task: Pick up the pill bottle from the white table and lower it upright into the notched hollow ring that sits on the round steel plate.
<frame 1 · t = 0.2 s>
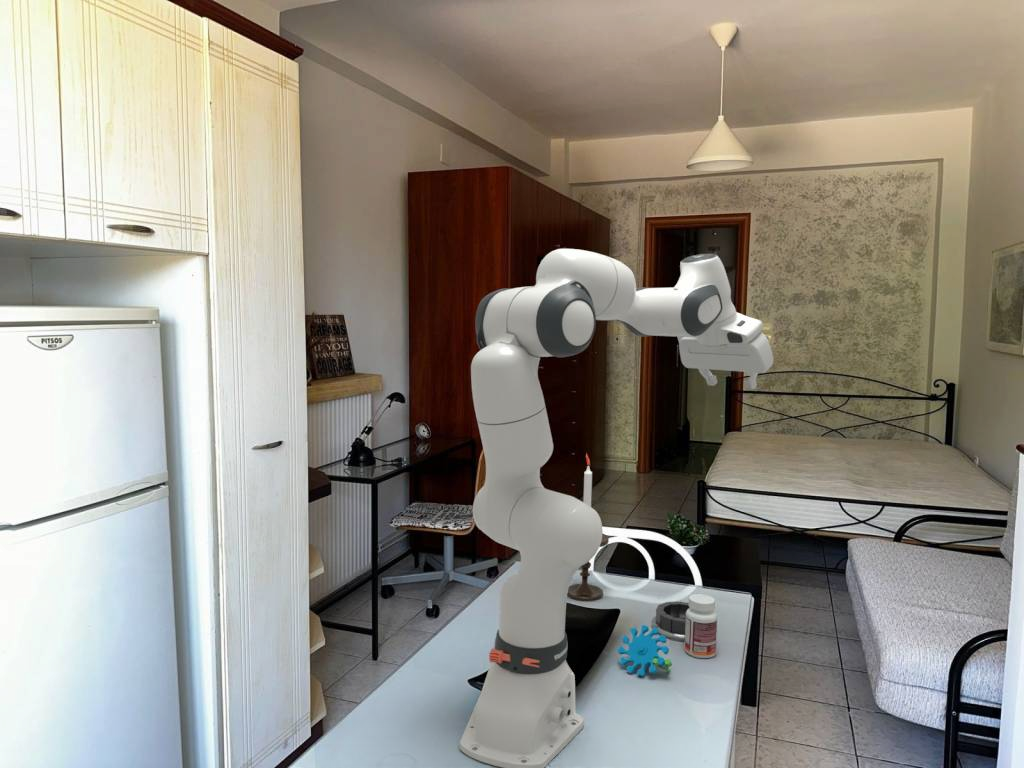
hand: (732, 385, 153), 54 cm above the table, tool tilted 30°, fingers open, 8 cm apart
notched hollow ring: (681, 629, 157), on the table
gear: (644, 671, 138), on the table
pill bottle: (699, 653, 146), on the table
candlestick: (584, 595, 177), on the table
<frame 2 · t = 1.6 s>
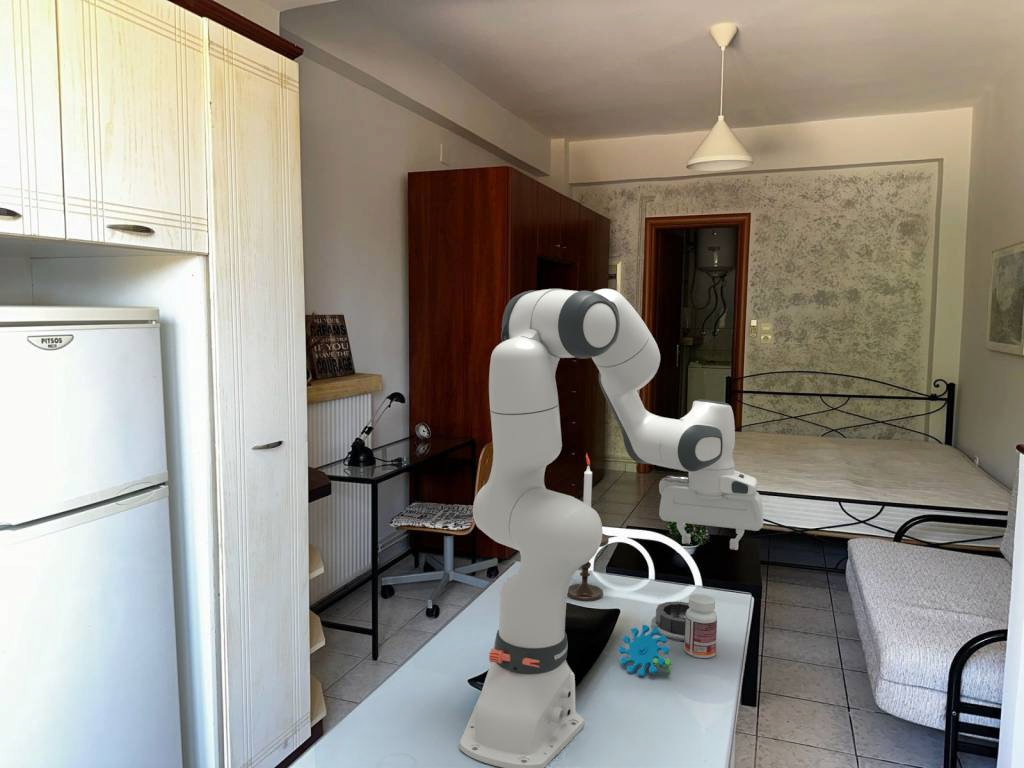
hand: (709, 545, 146), 22 cm above the table, tool pointing down, fingers open, 8 cm apart
nothing on the table moved.
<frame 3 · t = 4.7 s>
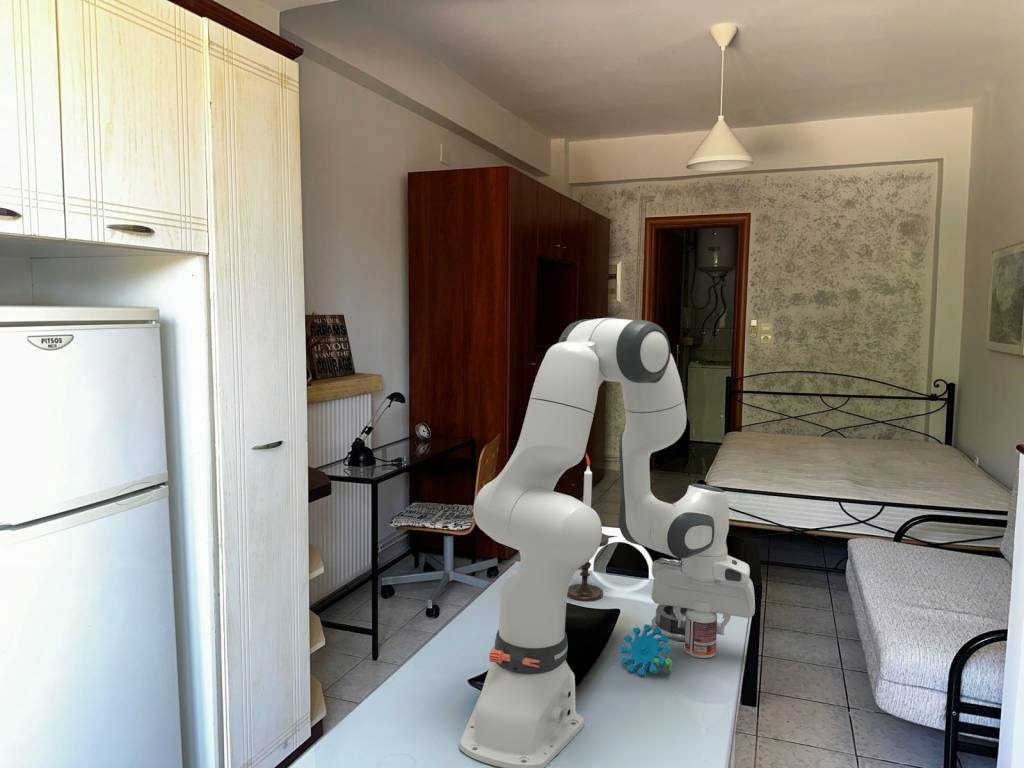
hand: (700, 630, 146), 5 cm above the table, tool pointing down, fingers closed on pill bottle, 6 cm apart
pill bottle: (699, 653, 146), on the table, touching gripper
everything else where it was.
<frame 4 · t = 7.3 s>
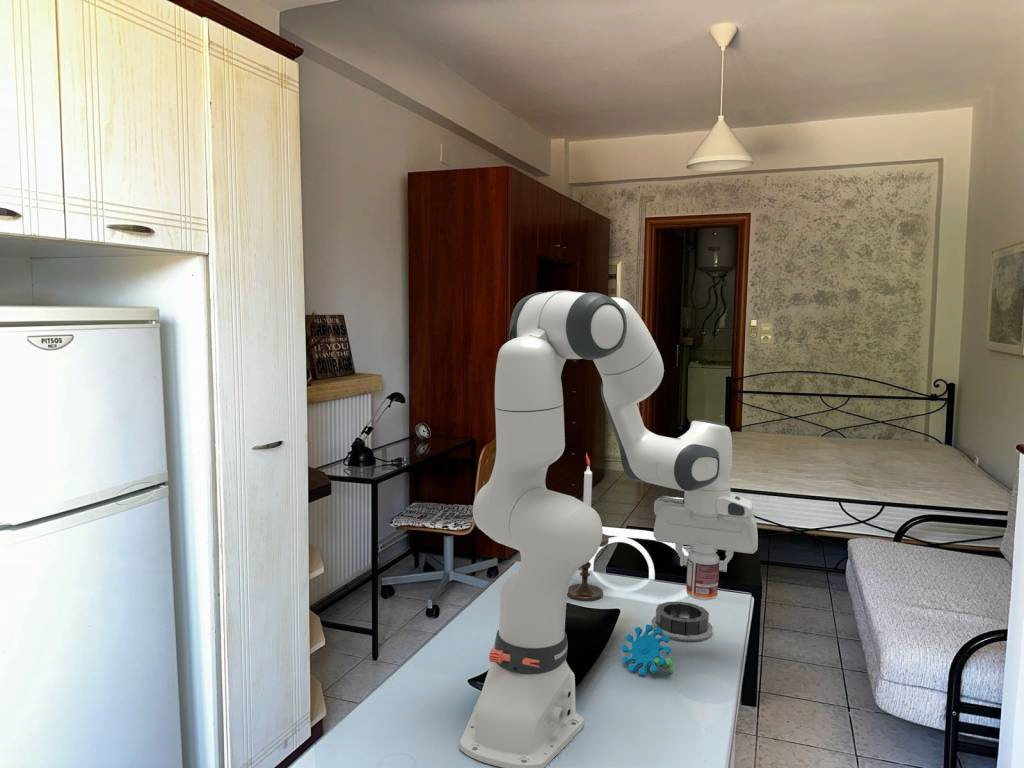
hand: (703, 568, 145), 18 cm above the table, tool pointing down, fingers closed on pill bottle, 6 cm apart
pill bottle: (701, 596, 145), point 12 cm above the table, touching gripper
everything else where it was.
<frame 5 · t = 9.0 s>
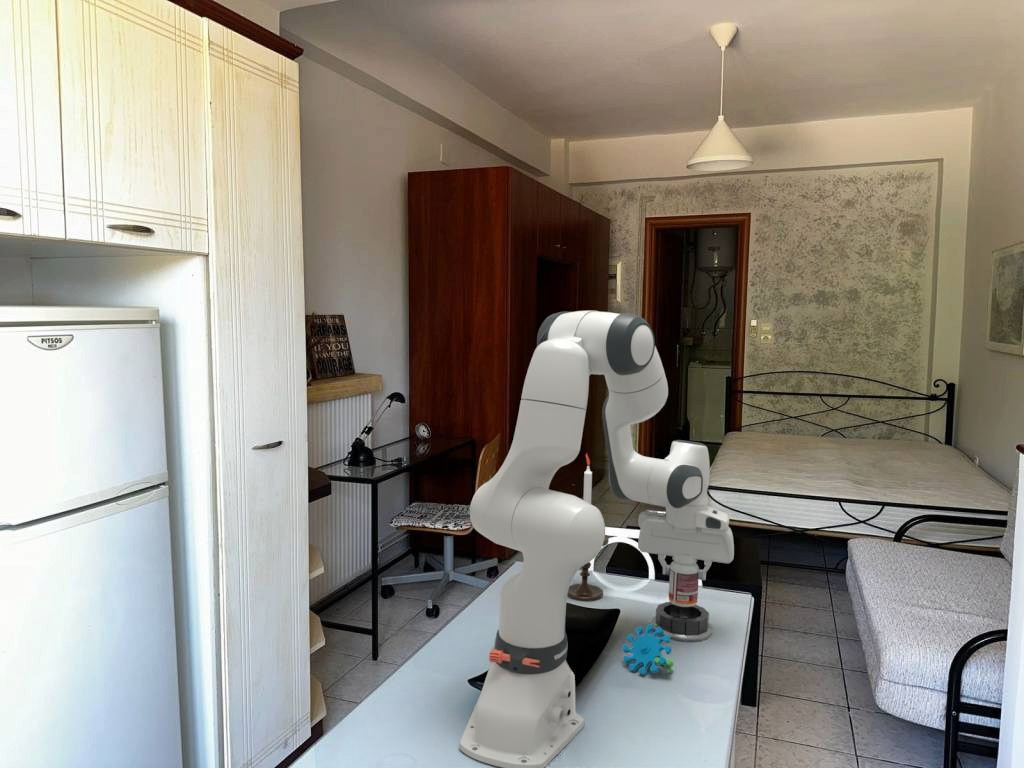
hand: (684, 576, 156), 12 cm above the table, tool pointing down, fingers closed on pill bottle, 6 cm apart
pill bottle: (682, 603, 157), point 6 cm above the table, touching gripper
everything else where it was.
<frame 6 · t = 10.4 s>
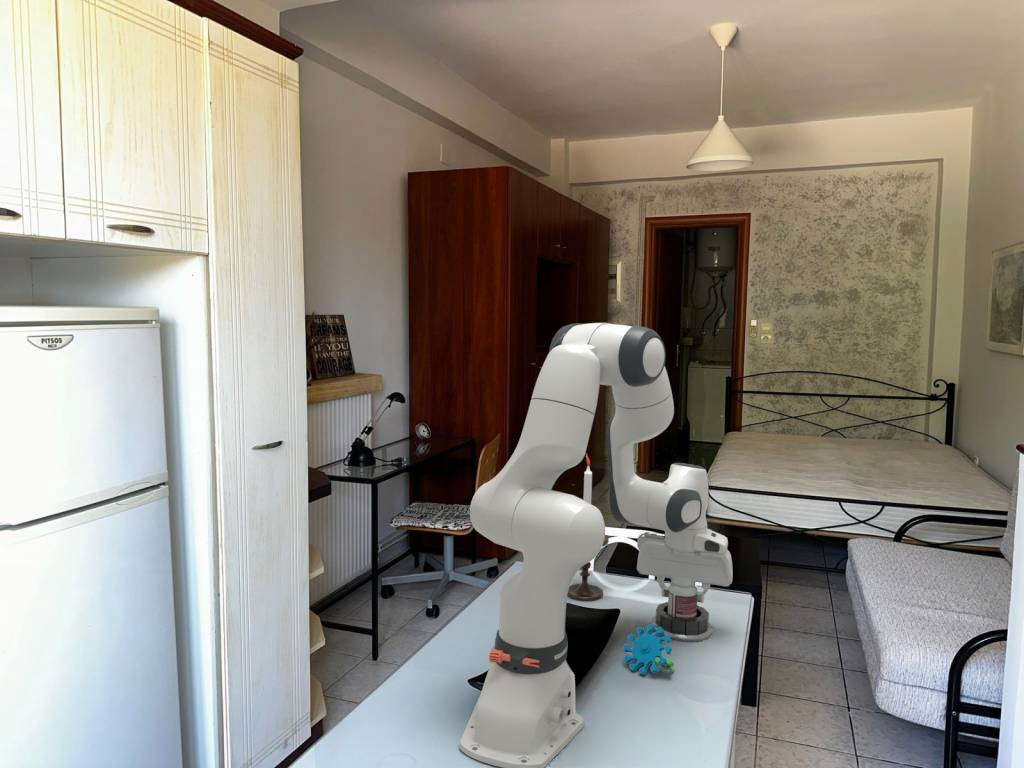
hand: (682, 598, 157), 7 cm above the table, tool pointing down, fingers closed on pill bottle, 6 cm apart
pill bottle: (681, 625, 157), point 1 cm above the table, touching gripper, notched hollow ring
everything else where it was.
when the fingers open (7 cm above the table, at t = 10.7 s): pill bottle stays where it is, resting on notched hollow ring.
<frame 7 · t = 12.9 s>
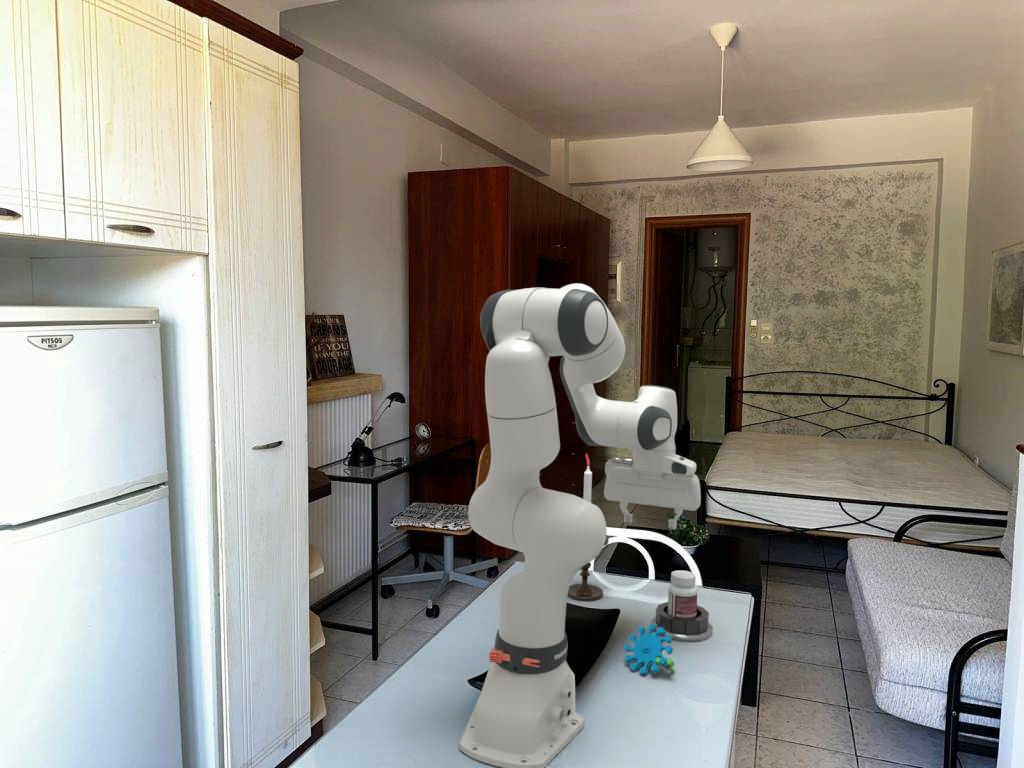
hand: (649, 525, 154), 23 cm above the table, tool pointing down, fingers open, 8 cm apart
pill bottle: (681, 625, 157), point 1 cm above the table, touching notched hollow ring
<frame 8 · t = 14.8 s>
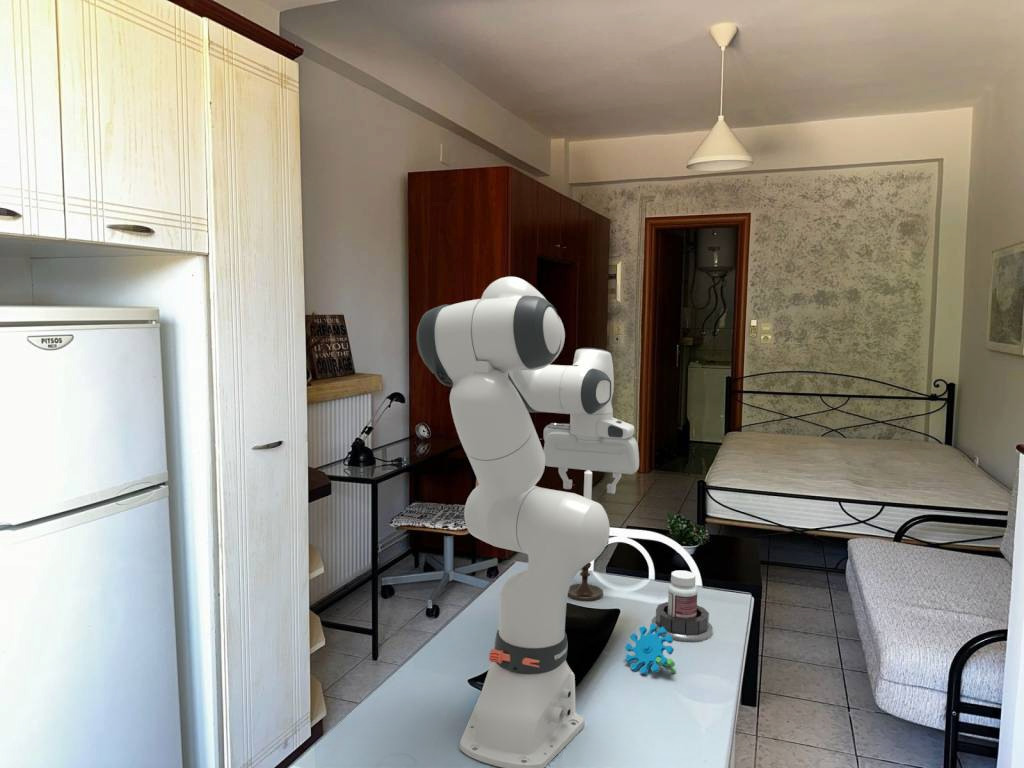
hand: (589, 490, 151), 31 cm above the table, tool pointing down, fingers open, 8 cm apart
at the end: pill bottle 0.1 cm from the notched hollow ring (horizontally); pill bottle point 0.8 cm above the table; pill bottle tilted 0° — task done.
